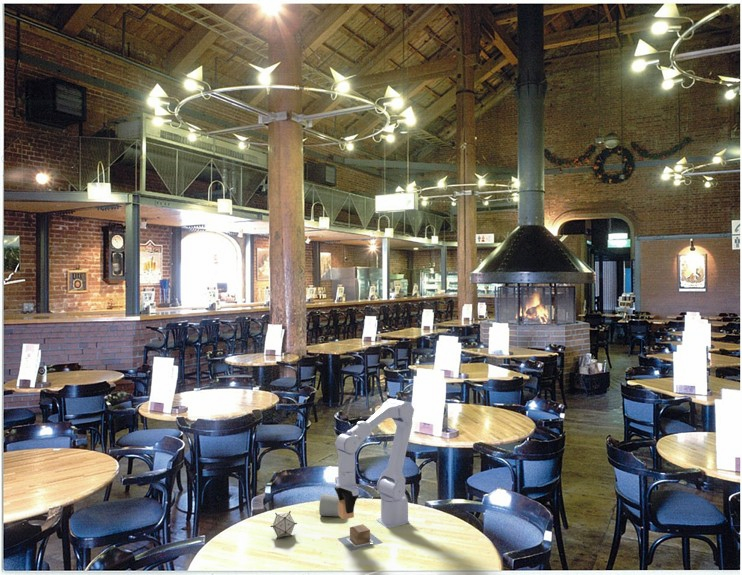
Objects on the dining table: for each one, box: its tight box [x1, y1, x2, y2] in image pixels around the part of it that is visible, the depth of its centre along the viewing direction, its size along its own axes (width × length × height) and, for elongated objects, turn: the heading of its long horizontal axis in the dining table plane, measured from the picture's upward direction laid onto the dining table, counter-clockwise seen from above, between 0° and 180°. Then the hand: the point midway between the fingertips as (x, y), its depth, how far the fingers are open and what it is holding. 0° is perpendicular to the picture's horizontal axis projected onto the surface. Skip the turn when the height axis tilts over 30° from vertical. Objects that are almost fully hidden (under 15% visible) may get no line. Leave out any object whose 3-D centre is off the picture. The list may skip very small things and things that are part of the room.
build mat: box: [337, 532, 384, 552], centre depth 182 cm, size 12×10×1 cm
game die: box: [269, 510, 298, 540], centre depth 186 cm, size 9×8×10 cm
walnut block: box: [349, 523, 371, 545], centre depth 183 cm, size 5×5×4 cm
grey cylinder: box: [318, 493, 339, 518], centre depth 206 cm, size 11×8×8 cm
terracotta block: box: [338, 500, 355, 520], centre depth 185 cm, size 4×4×5 cm
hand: (346, 510), depth 185 cm, fingers closed on terracotta block, 4 cm apart
